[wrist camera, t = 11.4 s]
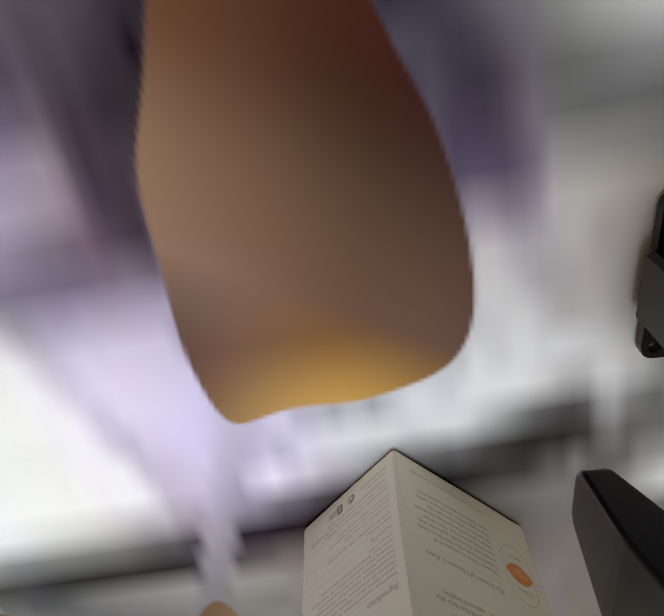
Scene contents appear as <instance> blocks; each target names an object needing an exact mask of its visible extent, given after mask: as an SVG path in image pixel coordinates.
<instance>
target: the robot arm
mask: <svg viewBox="0 0 664 616" xmlns="http://www.w3.org/2000/svg"><path fill="white" fill-rule="evenodd" d="M636 317H637V318H638V319H639V327H638V333H637V340H636V347H637V348H638V349H639V351H640V352H641V353H642V354H643V356H645V357H647V358H658V357H664V194H663V195H662V196H661V197H660V200H659V203H658V208H657V215H656V221H655V227H654V233H653V240H652V246H651V250H650V251H649V252H648V254H647V255H646V256H645V261H644V267H643V274H642V280H641V287H640V293H639V299H638V306H637V312H636ZM654 341H656V343H655V344H654V345H652V346H649V344H650V343H652V342H654ZM648 346H649V347H648ZM572 518H573V523H574V527H575V531H576V534H577V537H578V540H579V544H580V547H581V550H582V553H583V557H584V560H585V563H586V566H587V569H588V573H589V576H590V579H591V582H592V586H593V589H594V592H595V595H596V598H597V602H598V605H599V608H600V611H601V614H602V616H664V510H663V509H661V508H660V507H659V506H657V505H656V504H655V503H654V502H652V501H651V500H650V499H648V498H647V497H646V496H645V495H643V494H642V493H641V492H639V491H638V490H637V489H636V488H634V487H633V486H632V485H630V484H629V483H628V482H626V481H625V480H624V479H623V478H621V477H620V476H619V475H617V474H616V473H615V472H614V471H612V470H610V469H608V468H594V469H583V470H580V471H579V472H578V473H577V475H576V480H575V489H574V497H573V506H572Z"/></svg>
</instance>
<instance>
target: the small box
mask: <svg viewBox="0 0 664 616" xmlns="http://www.w3.org/2000/svg"><path fill="white" fill-rule="evenodd" d="M302 616H551V613H550V610H549V607H548V604H547V602H546V599H545V596H544V593H543V590H542V587H541V584H540V581H539V578H538V575H537V572H536V569H535V566H534V564H533V561H532V558H531V555H530V552H529V549H528V546H527V543H526V540H525V537H524V534H523V531H522V528H521V527H520V526H519V525H517V524H515V523H513V522H511V521H510V520H508V519H507V518H505V517H503V516H502V515H500V514H499V513H497V512H495V511H494V510H492V509H490V508H489V507H487V506H485V505H484V504H482V503H481V502H479V501H477V500H476V499H474V498H472V497H471V496H469V495H467V494H466V493H464V492H463V491H461V490H459V489H458V488H456V487H454V486H453V485H451V484H449V483H448V482H446V481H444V480H443V479H441V478H439V477H438V476H436V475H434V474H433V473H431V472H429V471H428V470H426V469H424V468H423V467H421V466H419V465H418V464H416V463H415V462H413V461H411V460H410V459H408V458H406V457H405V456H403V455H401V454H400V453H398V452H397V451H394V450H393V451H391V452H390V453H389V454H387V455H386V456H385V457H384V458H383V459H382V460H381V461H379V462H378V463H377V464H376V465H375V466H374V467H373V468H372V469H371V470H370V471H368V472H367V473H366V474H365V475H364V476H363V477H362V478H361V479H360V480H358V481H357V482H356V483H355V484H354V485H353V486H352V487H351V488H350V489H349V490H347V491H346V492H345V493H344V494H343V495H342V496H341V497H340V498H339V499H338V500H336V501H335V502H334V503H333V504H332V505H331V506H330V507H329V508H328V509H327V510H325V511H324V512H323V513H322V514H321V515H320V516H319V517H318V518H317V519H316V520H315V521H313V522H312V523H311V524H310V525H309V526H308V527H307V528H306V529H305V533H304V573H303V605H302Z"/></svg>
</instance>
